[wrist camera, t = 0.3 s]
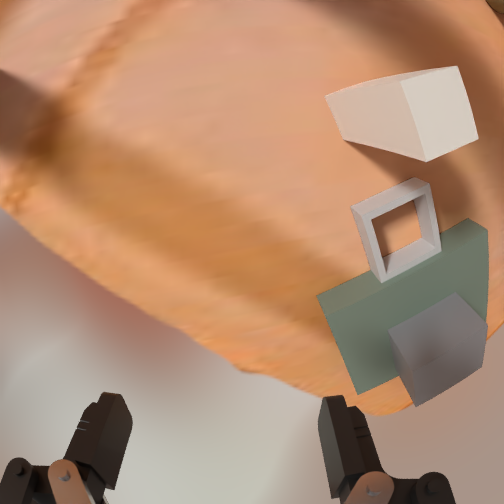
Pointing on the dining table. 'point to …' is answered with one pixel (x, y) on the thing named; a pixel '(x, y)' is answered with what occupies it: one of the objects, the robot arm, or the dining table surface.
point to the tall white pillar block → (407, 113)
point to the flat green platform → (413, 301)
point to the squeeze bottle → (497, 5)
